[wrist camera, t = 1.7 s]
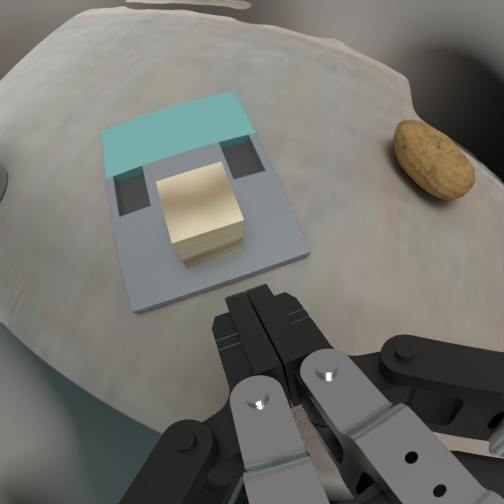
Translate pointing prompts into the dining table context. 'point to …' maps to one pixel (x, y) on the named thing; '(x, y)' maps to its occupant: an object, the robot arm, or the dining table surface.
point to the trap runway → (180, 161)
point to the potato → (433, 160)
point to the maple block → (202, 214)
